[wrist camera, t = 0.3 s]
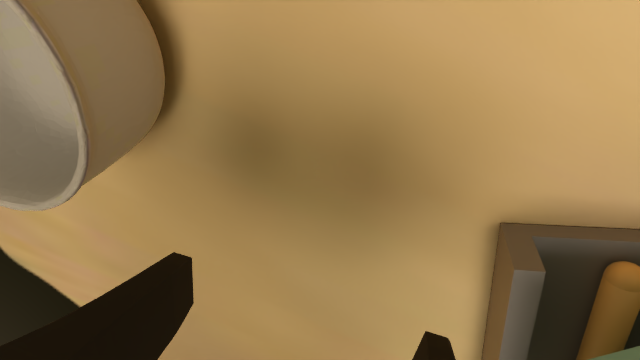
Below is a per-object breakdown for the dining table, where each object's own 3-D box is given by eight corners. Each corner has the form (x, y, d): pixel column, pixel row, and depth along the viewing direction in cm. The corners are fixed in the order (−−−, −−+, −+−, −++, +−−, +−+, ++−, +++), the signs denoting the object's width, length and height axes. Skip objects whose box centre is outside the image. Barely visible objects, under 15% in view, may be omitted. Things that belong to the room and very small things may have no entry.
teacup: (176, -71, 16) (-9, -104, 9) (209, 155, 21) (108, 238, 15) (-64, -68, 19) (-337, -92, 12) (18, 129, 24) (-141, 189, 17)
